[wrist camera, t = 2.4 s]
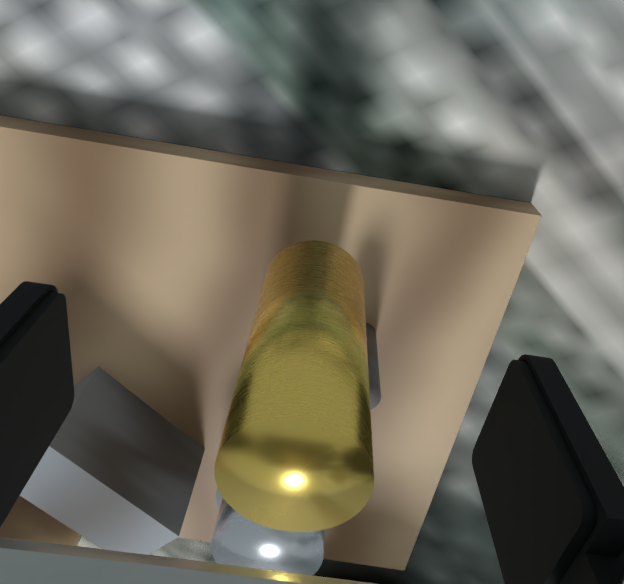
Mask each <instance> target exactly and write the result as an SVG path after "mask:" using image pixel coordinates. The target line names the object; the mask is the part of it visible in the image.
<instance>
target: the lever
mask: <svg viewBox="0 0 624 584" xmlns="http://www.w3.org/2000/svg"><path fill="white" fill-rule="evenodd" d="M214 477H215V482H216V485H217V488H218V490H219V492H220V494H221V495H222V500H221V505H220V509H219V513H218V517H217V521H216V525H215V530H214V534H213V538H212V543H211V551H212V555H213V557H214V559H215V561H216V562H217V563H218V564H226V565H234V566H242V567H250V568H257V569H265V570H273V571H281V572H289V573H297V574H305V575H314V574H315V573H316V572H317V571H318V570H319V568H320V566H321V564H322V562H323V557H324V533H325V529H328V528H332V527H334V526H337V525H340V524H342V523H344V522H346V521H348V520H349V519H351V518H352V517H354V516H355V515H356V514H358V513H359V512H360V511H361V510H362V509H363V508H364V506H365V505H366V504H367V502H368V501H369V499H370V497H371V494H372V492H373V487H374V465H373V446H372V428H371V410H370V391H369V373H368V355H367V336H366V318H365V300H364V282H363V276H362V272H361V270H360V267H359V265H358V264H357V262H356V261H355V259H354V258H353V257H352V256H351V255H350V254H349V253H348V252H346V251H345V250H344V249H342V248H341V247H339V246H337V245H334V244H332V243H329V242H324V241H317V240H308V241H302V242H298V243H295V244H292V245H290V246H288V247H286V248H284V249H283V250H282V251H280V252H279V253H278V254H277V255H276V256H275V257H274V259H273V260H272V261H271V263H270V265H269V267H268V270H267V273H266V276H265V280H264V284H263V287H262V291H261V295H260V298H259V302H258V306H257V309H256V313H255V317H254V321H253V324H252V328H251V332H250V335H249V339H248V343H247V346H246V350H245V354H244V357H243V361H242V365H241V369H240V372H239V376H238V380H237V383H236V387H235V391H234V394H233V398H232V402H231V405H230V409H229V413H228V416H227V420H226V424H225V428H224V431H223V435H222V439H221V442H220V446H219V450H218V453H217V457H216V461H215V466H214Z"/></svg>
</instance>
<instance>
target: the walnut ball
mask: <svg viewBox="0 0 624 584" xmlns="http://www.w3.org/2000/svg"><path fill="white" fill-rule="evenodd" d="M81 536H82V535H80V534H78V533H77V532H75V531H74V530H72V529H71V528H69V527H68V526H66V525H65V524H63V523H61V522H60V521H58V520H57V519H55V518H54V517H52V516H51V515H49V514H48V513H46V512H44V511H43V510H41V509H40V508H38V507H37V506H35V505H34V504H32V503H31V502H29V501H27V500H26V499H24V498H23V497H21V496H19V497H18V499H17V501H16V502H15V504H14V506H13V507H12V509H11V511H10V512H9V514H8V516H7V517H6V519H5V521H4V522H3V524H2V526H1V527H0V538H7V539H17V540H26V541H36V542H45V543H54V544H62V545H71V546H77V544H78V542H79V541H80V539H81Z"/></svg>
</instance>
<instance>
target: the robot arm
mask: <svg viewBox="0 0 624 584" xmlns="http://www.w3.org/2000/svg"><path fill="white" fill-rule="evenodd" d="M73 401H74V382H73V371H72V360H71V349H70V338H69V327H68V316H67V305H66V297H65V295H64V294H62V293H58V290H57V288H56V287H55V286H54V285H50V284H43V283H36V282H29V281H24V282H22V283H21V284H20V285H19V286H18V287H17V288H16V289H15V290H14V291H13V292H12V293H11V294H10V295H9V296H8V297H7V298H6V299H5V300H4V301H3V302H2V303H1V304H0V527H1V526H2V524H3V522H4V521H5V519H6V517H7V516H8V514H9V512H10V511H11V509H12V507H13V506H14V504H15V502H16V501H17V499H18V497H19V496H20V494H21V492H22V491H23V489H24V487H25V486H26V484H27V482H28V481H29V479H30V477H31V475H32V474H33V472H34V470H35V469H36V467H37V465H38V464H39V462H40V460H41V459H42V457H43V455H44V454H45V452H46V450H47V449H48V447H49V445H50V444H51V442H52V440H53V439H54V437H55V435H56V434H57V432H58V430H59V429H60V427H61V425H62V424H63V422H64V420H65V419H66V417H67V415H68V414H69V412H70V410H71V408H72V405H73ZM472 464H473V469H474V472H475V476H476V480H477V483H478V487H479V491H480V494H481V498H482V502H483V505H484V509H485V513H486V516H487V520H488V524H489V527H490V531H491V535H492V538H493V542H494V546H495V549H496V553H497V557H498V560H499V564H500V568H501V571H502V575H503V579H504V582H505V584H624V487H623V485H622V483H621V481H620V480H619V478H618V476H617V474H616V472H615V471H614V469H613V467H612V465H611V463H610V461H609V460H608V458H607V456H606V454H605V452H604V451H603V449H602V447H601V445H600V443H599V442H598V440H597V438H596V436H595V434H594V432H593V431H592V429H591V427H590V425H589V423H588V422H587V420H586V418H585V416H584V414H583V413H582V411H581V409H580V407H579V405H578V404H577V402H576V400H575V398H574V396H573V394H572V393H571V391H570V389H569V387H568V385H567V384H566V382H565V380H564V378H563V376H562V375H561V373H560V371H559V369H558V367H557V365H556V364H555V362H554V361H553V360H552V359H550V358H546V357H539V356H532V355H522V356H521V357H520V358H519V360H512V361H511V362H510V364H509V366H508V369H507V371H506V373H505V376H504V378H503V380H502V383H501V385H500V387H499V390H498V392H497V395H496V397H495V399H494V402H493V404H492V406H491V409H490V411H489V414H488V416H487V418H486V421H485V423H484V425H483V428H482V430H481V432H480V435H479V437H478V440H477V442H476V444H475V447H474V450H473V454H472ZM0 584H374V583H366V582H359V581H351V580H344V579H336V578H328V577H320V576H312V575H305V574H297V573H289V572H281V571H273V570H265V569H257V568H250V567H242V566H234V565H226V564H218V563H210V562H202V561H194V560H186V559H178V558H170V557H161V556H153V555H145V554H137V553H128V552H120V551H112V550H104V549H95V548H87V547H79V546H71V545H62V544H54V543H45V542H36V541H26V540H17V539H7V538H0Z"/></svg>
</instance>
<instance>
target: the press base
mask: <svg viewBox="0 0 624 584" xmlns="http://www.w3.org/2000/svg"><path fill="white" fill-rule="evenodd" d="M541 217H542V216H541V214H540V213H539V212H538V211H537V209H536V208H535V207H534V206H533V205H532V203H527V202H521V201H515V200H509V199H503V198H497V197H491V196H485V195H479V194H473V193H467V192H461V191H455V190H449V189H443V188H437V187H431V186H425V185H419V184H413V183H407V182H401V181H395V180H388V179H382V178H376V177H370V176H364V175H358V174H352V173H346V172H340V171H334V170H328V169H322V168H316V167H310V166H304V165H298V164H292V163H286V162H280V161H274V160H268V159H262V158H256V157H250V156H244V155H238V154H231V153H225V152H219V151H213V150H207V149H201V148H195V147H189V146H183V145H177V144H171V143H165V142H159V141H153V140H147V139H141V138H135V137H129V136H123V135H117V134H111V133H105V132H99V131H93V130H87V129H81V128H75V127H68V126H62V125H56V124H50V123H44V122H38V121H32V120H26V119H20V118H14V117H8V116H2V115H0V304H1V303H2V302H3V301H4V300H5V299H6V298H7V297H8V296H9V295H10V294H11V293H12V292H13V291H14V290H15V289H16V288H17V287H18V286H19V285H20V284H21V283H22V282H24V281H29V282H36V283H43V284H50V285H54V286H55V287H56V288H57V290H58V293H62V294H64V295H65V297H66V305H67V316H68V327H69V338H70V349H71V360H72V371H73V382H74V401H73V405H72V408H71V410H70V412H69V414H68V415H67V417H66V419H65V420H64V422H63V424H62V425H61V427H60V429H59V430H58V432H57V434H56V435H55V437H54V439H53V440H52V442H51V444H50V445H49V447H48V449H47V450H46V452H45V454H44V455H43V457H42V459H41V460H40V462H39V464H38V465H37V467H36V469H35V470H34V472H33V474H32V475H31V477H30V479H29V481H28V482H27V484H26V486H25V487H24V489H23V491H22V492H21V494H20V496H21V497H23V498H24V499H26V500H27V501H29V502H31V503H32V504H34V505H35V506H37V507H38V508H40V509H41V510H43V511H44V512H46V513H48V514H49V515H51V516H52V517H54V518H55V519H57V520H58V521H60V522H61V523H63V524H65V525H66V526H68V527H69V528H71V529H72V530H74V531H75V532H77V533H78V534H80V535H82V536H83V537H85V538H86V539H88V540H89V541H91V542H92V543H94V544H95V545H97V546H99V547H100V548H102V549H104V550H112V551H120V552H128V553H137V554H145V555H149V554H150V553H152V552H154V551H155V550H157V549H159V548H160V547H162V546H164V545H166V544H167V543H169V542H171V541H172V540H174V539H176V538H184V539H191V540H198V541H204V542H211V543H212V538H213V534H214V530H215V525H216V521H217V517H218V513H219V509H220V505H221V500H222V495H221V494H220V492H219V490H218V488H217V485H216V482H215V477H214V466H215V461H216V457H217V453H218V450H219V446H220V442H221V439H222V435H223V431H224V428H225V424H226V420H227V416H228V413H229V409H230V405H231V402H232V398H233V394H234V391H235V387H236V383H237V380H238V376H239V372H240V369H241V365H242V361H243V357H244V354H245V350H246V346H247V343H248V339H249V335H250V332H251V328H252V324H253V321H254V317H255V313H256V309H257V306H258V302H259V298H260V295H261V291H262V287H263V284H264V280H265V276H266V273H267V270H268V267H269V265H270V263H271V261H272V260H273V259H274V257H275V256H276V255H277V254H278V253H279V252H280V251H282V250H283V249H284V248H286V247H288V246H290V245H292V244H295V243H298V242H302V241H308V240H317V241H324V242H329V243H332V244H334V245H337V246H339V247H341V248H342V249H344V250H345V251H346V252H348V253H349V254H350V255H351V256H352V257H353V258H354V259H355V261H356V262H357V264H358V265H359V267H360V270H361V272H362V276H363V282H364V300H365V318H366V336H367V355H368V373H369V391H370V410H371V428H372V446H373V465H374V487H373V492H372V494H371V497H370V499H369V501H368V502H367V504H366V505H365V506H364V508H363V509H362V510H361V511H360V512H359V513H358V514H356V515H355V516H354V517H352V518H351V519H349V520H348V521H346V522H344V523H342V524H340V525H337V526H334V527H332V528H328V529H325V533H324V557H323V559H328V560H335V561H342V562H349V563H355V564H362V565H369V566H376V567H383V568H390V569H397V570H403V571H405V568H406V565H407V563H408V560H409V558H410V555H411V552H412V550H413V547H414V545H415V542H416V540H417V537H418V534H419V532H420V529H421V527H422V524H423V522H424V519H425V516H426V514H427V511H428V509H429V506H430V503H431V501H432V498H433V496H434V493H435V491H436V488H437V485H438V483H439V480H440V478H441V475H442V472H443V470H444V467H445V465H446V462H447V460H448V457H449V454H450V452H451V449H452V447H453V444H454V441H455V439H456V436H457V434H458V431H459V429H460V426H461V423H462V421H463V418H464V416H465V413H466V410H467V408H468V405H469V403H470V400H471V398H472V395H473V392H474V390H475V387H476V385H477V382H478V379H479V377H480V374H481V372H482V369H483V367H484V364H485V361H486V359H487V356H488V354H489V351H490V348H491V346H492V343H493V341H494V338H495V336H496V333H497V330H498V328H499V325H500V323H501V320H502V318H503V315H504V312H505V310H506V307H507V305H508V302H509V299H510V297H511V294H512V292H513V289H514V287H515V284H516V281H517V279H518V276H519V274H520V271H521V268H522V266H523V263H524V261H525V258H526V256H527V253H528V250H529V248H530V245H531V243H532V240H533V237H534V235H535V232H536V230H537V227H538V225H539V222H540V219H541Z"/></svg>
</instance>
